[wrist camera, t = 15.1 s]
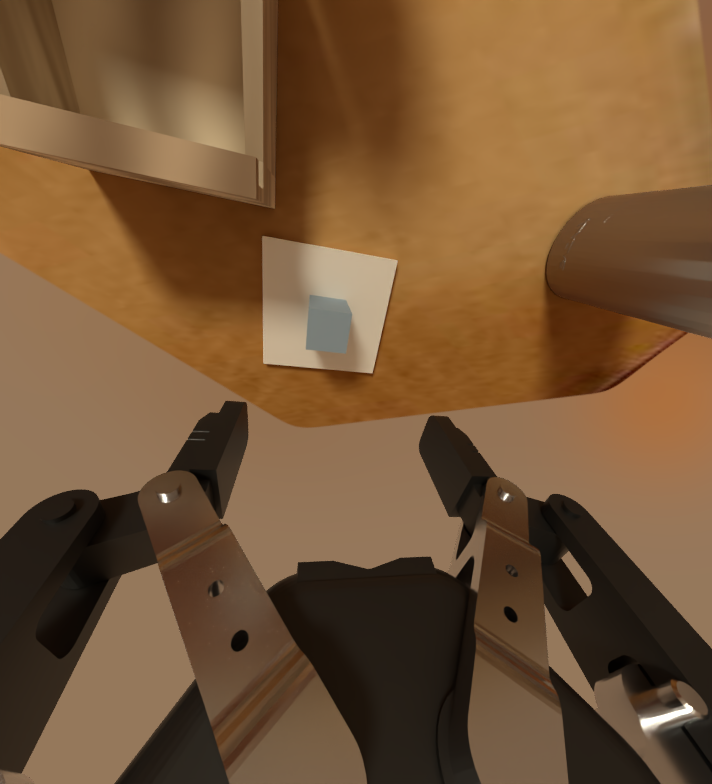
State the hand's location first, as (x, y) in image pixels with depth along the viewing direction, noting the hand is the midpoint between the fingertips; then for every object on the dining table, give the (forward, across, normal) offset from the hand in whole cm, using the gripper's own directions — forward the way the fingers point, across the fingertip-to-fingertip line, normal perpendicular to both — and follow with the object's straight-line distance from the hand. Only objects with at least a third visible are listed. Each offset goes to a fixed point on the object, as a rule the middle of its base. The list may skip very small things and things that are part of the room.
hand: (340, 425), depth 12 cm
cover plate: (+18, 0, 0) cm, 19 cm away
